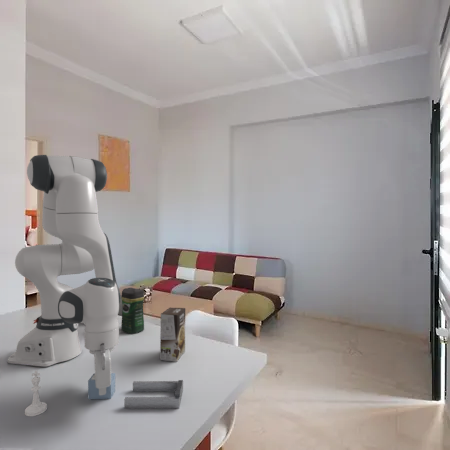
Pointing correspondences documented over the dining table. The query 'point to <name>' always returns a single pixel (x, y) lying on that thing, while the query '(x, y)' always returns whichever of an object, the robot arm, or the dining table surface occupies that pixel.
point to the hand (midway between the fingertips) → (101, 387)
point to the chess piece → (36, 399)
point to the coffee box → (172, 334)
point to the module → (94, 392)
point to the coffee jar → (132, 310)
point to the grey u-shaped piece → (155, 401)
